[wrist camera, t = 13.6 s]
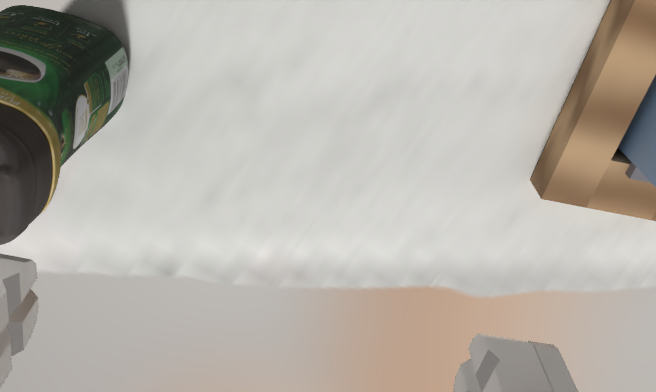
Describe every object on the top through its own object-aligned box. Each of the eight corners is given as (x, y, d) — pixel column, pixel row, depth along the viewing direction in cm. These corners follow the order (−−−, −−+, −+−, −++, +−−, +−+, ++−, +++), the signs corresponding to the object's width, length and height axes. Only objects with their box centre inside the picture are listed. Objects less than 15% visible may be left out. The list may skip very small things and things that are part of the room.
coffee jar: (-4, 94, 45) (-185, 235, 29) (-3, -11, 41) (-212, 85, 25) (126, 127, 46) (21, 279, 30) (139, 29, 42) (26, 144, 26)
